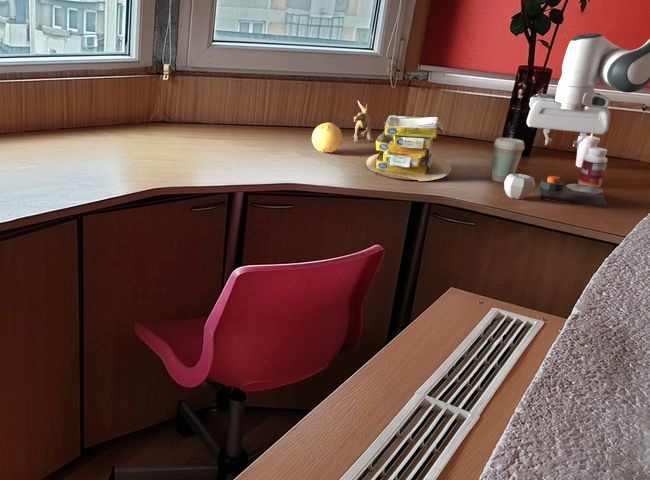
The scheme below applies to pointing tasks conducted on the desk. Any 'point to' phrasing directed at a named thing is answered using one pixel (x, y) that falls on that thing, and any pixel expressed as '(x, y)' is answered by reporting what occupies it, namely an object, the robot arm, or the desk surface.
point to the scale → (568, 195)
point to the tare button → (553, 179)
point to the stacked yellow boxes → (409, 149)
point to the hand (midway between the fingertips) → (561, 146)
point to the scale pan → (584, 189)
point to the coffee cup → (506, 157)
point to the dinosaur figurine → (362, 124)
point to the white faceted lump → (518, 185)
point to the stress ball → (327, 137)
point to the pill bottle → (593, 167)
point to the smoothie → (585, 148)
